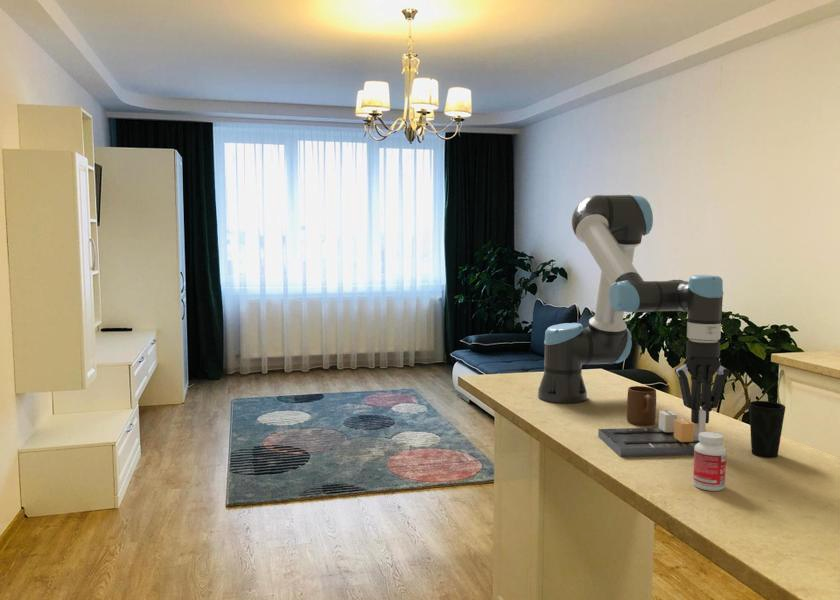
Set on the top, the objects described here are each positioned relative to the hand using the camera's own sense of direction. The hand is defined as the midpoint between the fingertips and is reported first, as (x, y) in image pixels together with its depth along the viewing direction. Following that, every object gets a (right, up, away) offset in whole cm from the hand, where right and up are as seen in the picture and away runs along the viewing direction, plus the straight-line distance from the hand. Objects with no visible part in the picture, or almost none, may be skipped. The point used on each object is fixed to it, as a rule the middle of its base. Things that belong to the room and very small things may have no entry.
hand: (699, 436), depth 167 cm
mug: (-7, -1, +22) cm, 23 cm away
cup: (+14, -4, -3) cm, 15 cm away
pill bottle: (-8, -6, -24) cm, 25 cm away
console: (-9, -3, +4) cm, 10 cm away
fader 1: (-5, 0, +8) cm, 9 cm away
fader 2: (-4, -1, 0) cm, 4 cm away
